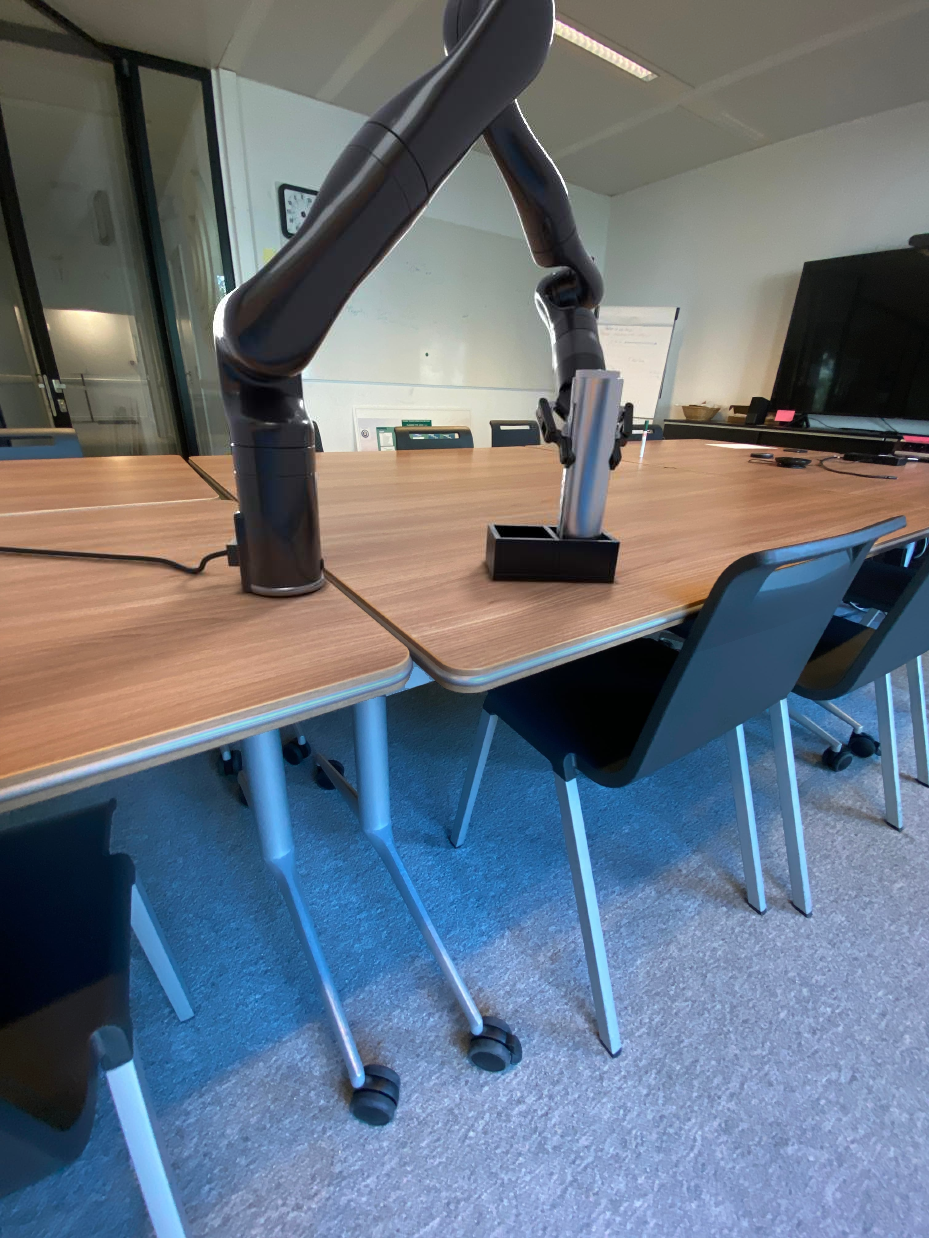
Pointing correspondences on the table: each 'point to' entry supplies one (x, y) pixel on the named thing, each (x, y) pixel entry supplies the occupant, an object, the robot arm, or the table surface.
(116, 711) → the table surface
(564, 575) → the open box with compartments
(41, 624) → the table surface
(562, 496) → the metallic silver cylinder
